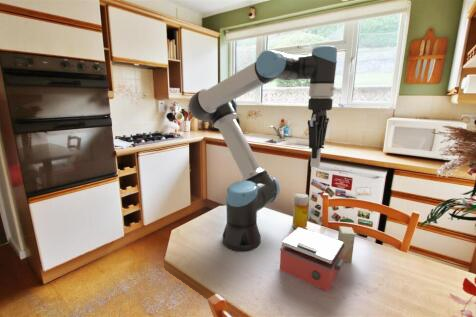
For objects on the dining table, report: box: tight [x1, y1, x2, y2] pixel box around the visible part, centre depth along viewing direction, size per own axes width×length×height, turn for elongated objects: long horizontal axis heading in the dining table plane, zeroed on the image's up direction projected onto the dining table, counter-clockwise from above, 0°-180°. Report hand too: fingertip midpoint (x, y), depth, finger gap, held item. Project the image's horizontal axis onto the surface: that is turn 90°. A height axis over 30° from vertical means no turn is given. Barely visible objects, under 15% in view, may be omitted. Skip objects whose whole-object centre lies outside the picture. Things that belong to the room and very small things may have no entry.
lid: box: [281, 227, 344, 264], centre depth 81 cm, size 16×14×2 cm
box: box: [337, 225, 356, 264], centre depth 87 cm, size 5×4×11 cm
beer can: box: [292, 192, 310, 230], centre depth 107 cm, size 6×6×15 cm
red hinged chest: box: [279, 244, 344, 293], centre depth 82 cm, size 19×15×8 cm
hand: (314, 166), depth 87 cm, fingers closed
